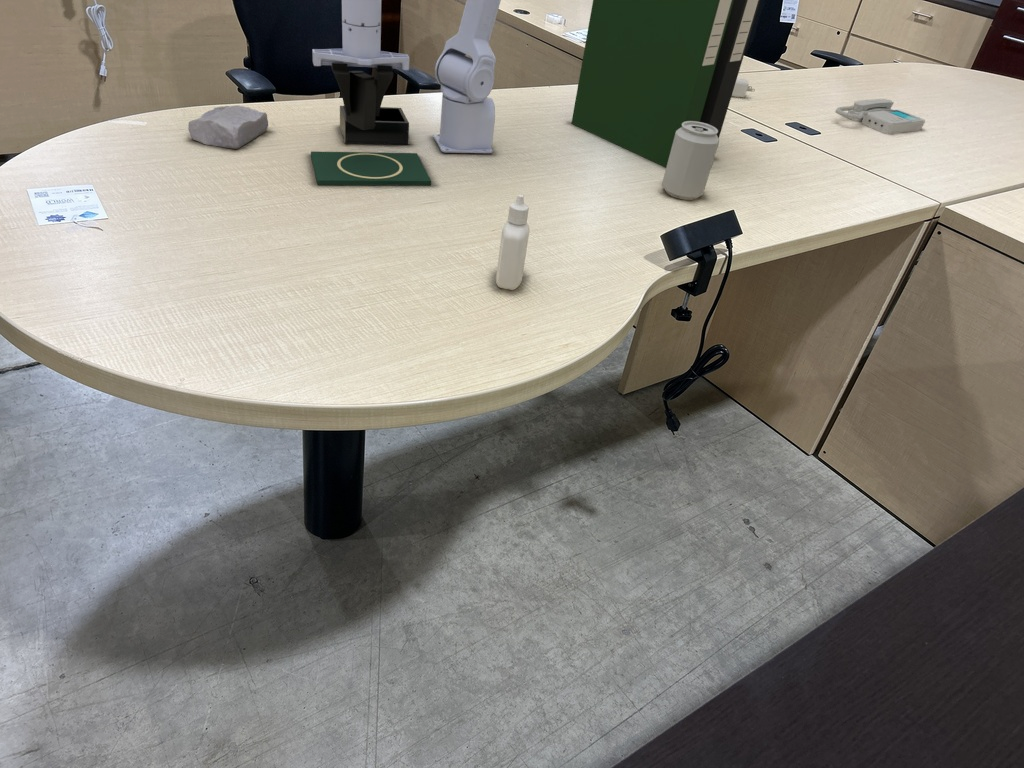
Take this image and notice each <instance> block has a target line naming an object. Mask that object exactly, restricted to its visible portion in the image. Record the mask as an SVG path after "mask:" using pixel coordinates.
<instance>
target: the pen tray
mask: <svg viewBox="0 0 1024 768" xmlns="http://www.w3.org/2000/svg"><path fill="white" fill-rule="evenodd" d="M375 125H376V126H375V128H374V129H368V130H361V129H359V128H358V127H356V126H354V125H352V124H350V123H348V122H347V121H346V114H345V110H344V105H339V129H340V132H341V135H342V138H343V140H344V144H346V145H385V146H386V145H387V146H388V145H391V146H392V145H393V146H408V145H409V136H410V135H409V134H410V122H409V119H408V117H407V116H406V114H405V113H404V111H403V109H402V107H393V106H391V107H390V106H387V107H386V106H381V107H380V112H379V116H375Z"/></svg>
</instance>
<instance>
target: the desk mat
mask: <svg viewBox="0 0 1024 768" xmlns="http://www.w3.org/2000/svg"><path fill="white" fill-rule="evenodd" d="M310 158H311V162H312V166H313V171H314V176H315V179H316V184H317V186H432V179H431V177H430V175H429V174H428V172H427V170H426V168H425V166H424V164H423V162H422V160H421V158H420V156H419V154H418V153H417V152H373V151H371V152H369V151H368V152H367V151H312V150H311V151H310Z"/></svg>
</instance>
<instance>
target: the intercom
mask: <svg viewBox="0 0 1024 768" xmlns="http://www.w3.org/2000/svg"><path fill="white" fill-rule="evenodd" d="M894 104H895V102H894V101H892V100H891V99H886V98H873V99H862V100H856V101H854V102H853V105H848V106H839V107H837V108H836V109H835V110H834V111H835V114H837V115H839V116H841V117H843V118H846V119H850V120H852V121H854V122H861V125H864V126H866V127H869V128H871V129H874V130H876V131H879V132H881V133H884V134H886V135H894V134H903V133H910V132H916V131H921V130H922V129H923V127H924V124H925V123H926V120H925V119H924V118H922V117H920V116H917V115H914V114H911V113H909V112H907V111H904V110H901V109H892V107H893V105H894ZM847 111H848V112H847Z"/></svg>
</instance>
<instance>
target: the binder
mask: <svg viewBox="0 0 1024 768" xmlns="http://www.w3.org/2000/svg"><path fill="white" fill-rule="evenodd" d="M760 4H761V0H592V4H591V10H590V16H589V22H588V27H587V31H586V33H587V34H586V38H585V43H584V50H583V55H582V62H581V67H580V72H579V77H578V83H577V88H576V93H575V94H576V95H575V100H574V106H573V111H572V117H571V124H572V125H574V126H575V127H578V128H580V129H582V130H583V131H586V132H589V133H591V134H593V135H596V136H597V137H599V138H602V139H604V140H606V141H607V142H610V143H611V144H614V145H616V146H619V147H621V148H623V149H625V150H628V151H629V152H631V153H634V154H636V155H638V156H640V157H642V158H645V159H647V160H649V161H651V162H654V163H655V164H657V165H659V166H662V167H664V168H666V167H667V163H668V160H669V156H670V152H671V148H672V144H673V141H674V137H675V133H676V131H677V130H678V129H679V128H681V127H682V123H683V122H686V121H697V122H702V123H706V124H709V125H711V126H713V127H715V128H716V129H717V130H718V133H717V136H718V138H719V139H720V136H721V132H722V129H723V126H724V123H725V119H726V116H727V113H728V109H729V106H730V104H731V99H732V93H733V90H734V86H735V83H736V80H737V78H738V76H739V73H740V69H741V66H742V63H743V60H744V56H745V53H746V50H747V47H748V42H749V39H750V36H751V33H752V30H753V26H754V23H755V20H756V15H757V13H758V10H759V7H760Z"/></svg>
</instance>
